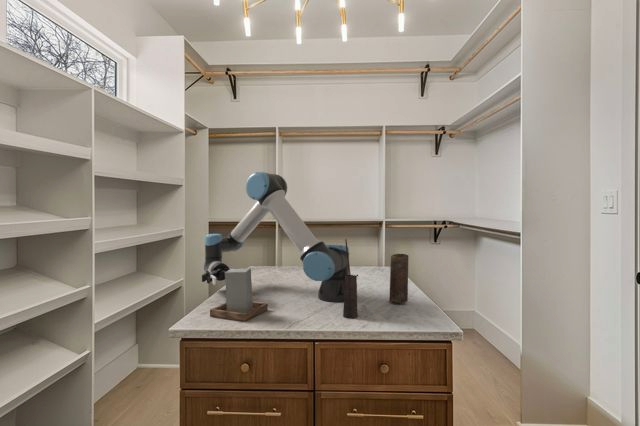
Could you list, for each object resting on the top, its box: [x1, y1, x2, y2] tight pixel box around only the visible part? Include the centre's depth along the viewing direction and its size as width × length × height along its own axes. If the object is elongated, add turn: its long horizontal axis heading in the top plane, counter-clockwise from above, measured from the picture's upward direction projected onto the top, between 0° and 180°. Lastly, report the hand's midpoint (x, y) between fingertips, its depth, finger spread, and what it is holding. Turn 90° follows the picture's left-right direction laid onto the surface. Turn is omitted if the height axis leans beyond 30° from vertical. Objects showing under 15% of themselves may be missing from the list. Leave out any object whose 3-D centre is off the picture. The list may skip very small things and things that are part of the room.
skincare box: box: [224, 267, 254, 313], centre depth 130 cm, size 8×7×16 cm
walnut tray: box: [209, 301, 269, 323], centre depth 130 cm, size 15×15×2 cm
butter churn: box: [342, 238, 359, 319], centre depth 126 cm, size 9×10×28 cm
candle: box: [388, 253, 410, 305], centre depth 143 cm, size 8×7×20 cm
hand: (232, 279), depth 136 cm, fingers open, 13 cm apart
